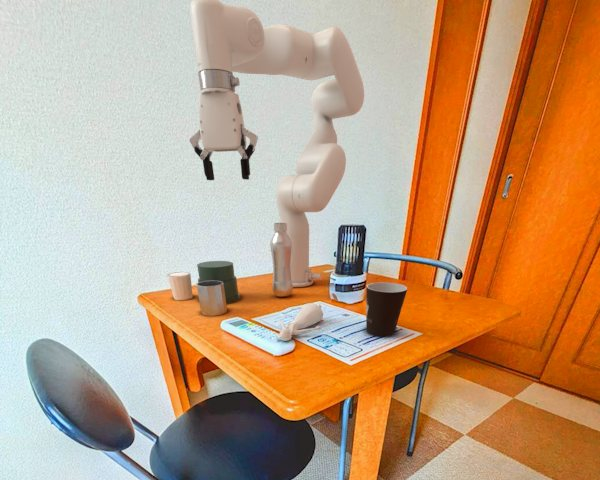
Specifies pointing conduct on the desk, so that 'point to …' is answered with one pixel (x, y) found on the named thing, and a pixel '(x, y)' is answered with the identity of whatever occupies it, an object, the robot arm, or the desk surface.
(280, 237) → the silver metal bottle
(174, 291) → the pale pink short cylinder
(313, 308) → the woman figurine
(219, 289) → the silver cup
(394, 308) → the coffee mug
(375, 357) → the desk surface
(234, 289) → the dark green tiered cylinder
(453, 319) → the desk surface
